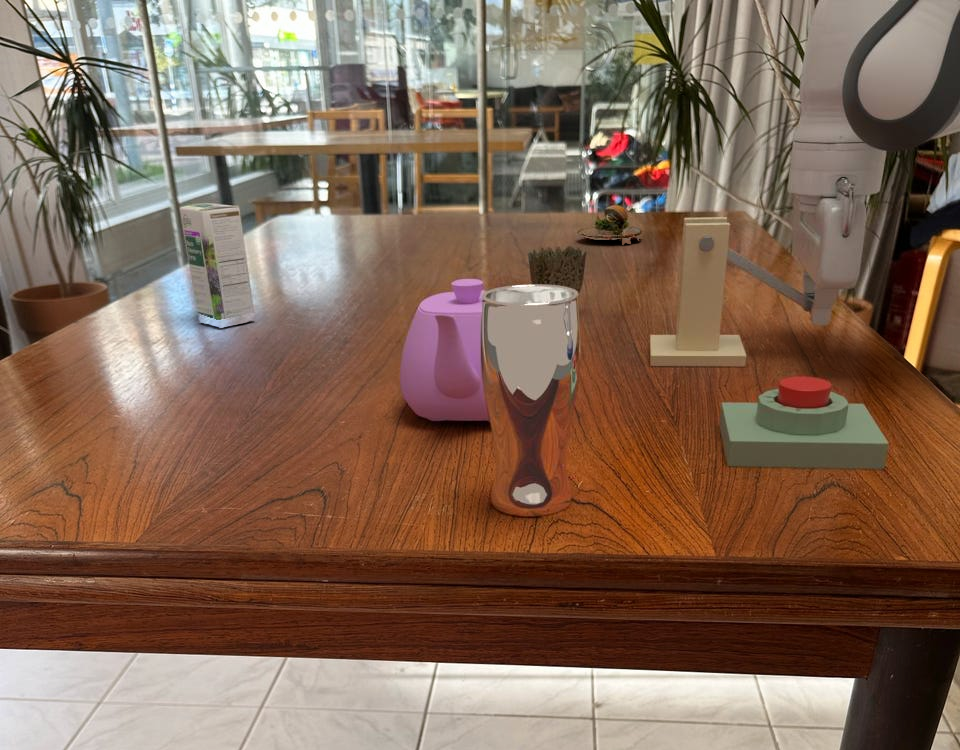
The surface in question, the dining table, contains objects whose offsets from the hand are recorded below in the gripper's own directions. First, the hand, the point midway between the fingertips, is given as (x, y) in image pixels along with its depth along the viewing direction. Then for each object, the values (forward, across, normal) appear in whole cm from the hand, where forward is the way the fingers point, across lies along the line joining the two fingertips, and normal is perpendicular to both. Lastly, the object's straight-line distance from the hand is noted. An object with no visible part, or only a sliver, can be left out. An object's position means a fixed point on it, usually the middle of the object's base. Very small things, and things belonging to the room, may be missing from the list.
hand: (814, 317), depth 100 cm
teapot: (+4, -21, +34) cm, 40 cm away
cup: (+4, +20, +29) cm, 36 cm away
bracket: (+4, 0, +12) cm, 13 cm away
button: (0, -29, +5) cm, 29 cm away
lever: (-4, 0, +7) cm, 8 cm away
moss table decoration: (+4, +80, +24) cm, 84 cm away
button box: (+4, -29, +5) cm, 30 cm away
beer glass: (+4, -42, +26) cm, 50 cm away
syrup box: (+4, +16, +73) cm, 75 cm away
